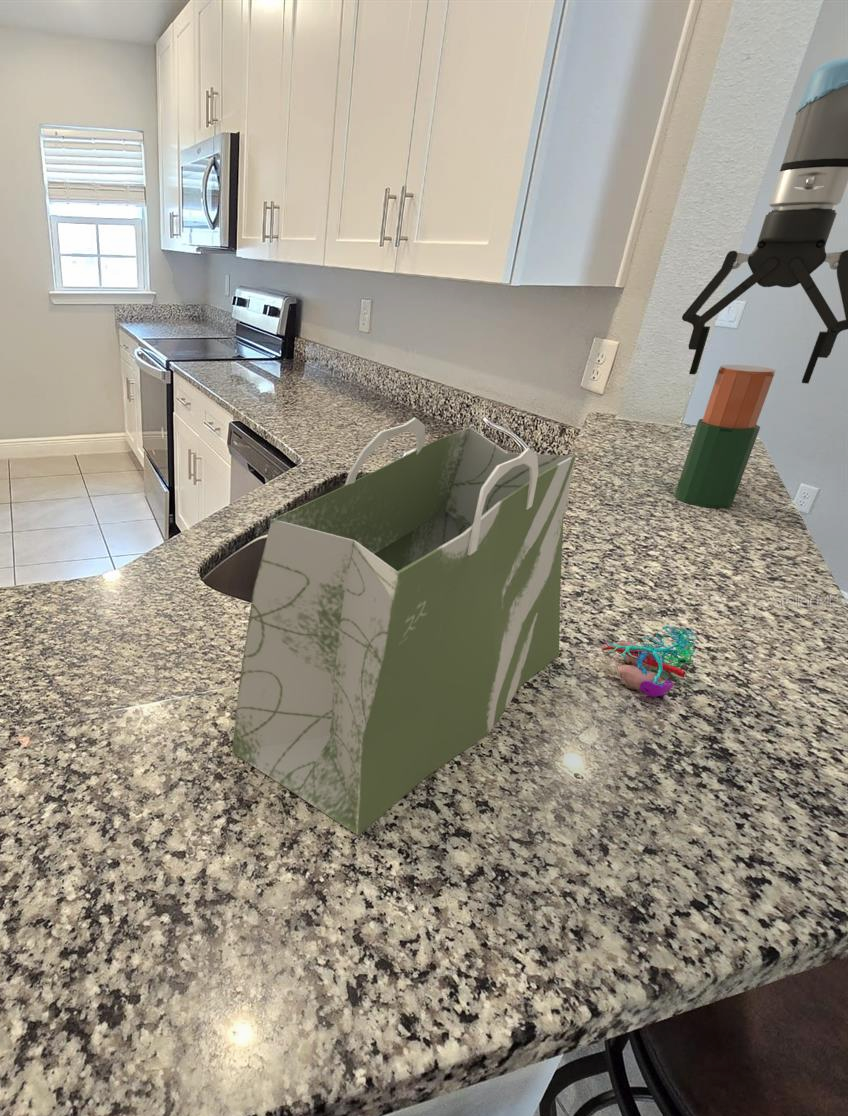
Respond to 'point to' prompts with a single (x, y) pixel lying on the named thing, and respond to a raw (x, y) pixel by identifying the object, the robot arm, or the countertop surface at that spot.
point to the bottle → (715, 465)
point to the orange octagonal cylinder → (738, 396)
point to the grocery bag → (400, 619)
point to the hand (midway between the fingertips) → (746, 377)
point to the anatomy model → (653, 661)
